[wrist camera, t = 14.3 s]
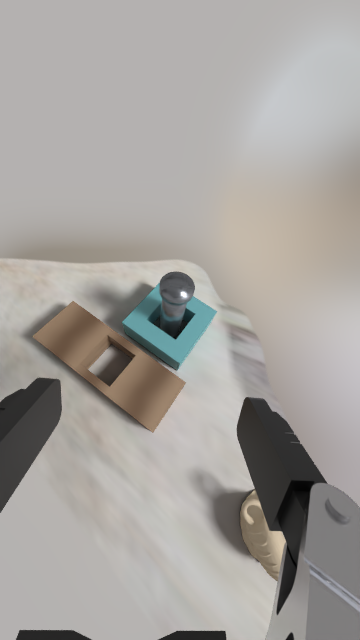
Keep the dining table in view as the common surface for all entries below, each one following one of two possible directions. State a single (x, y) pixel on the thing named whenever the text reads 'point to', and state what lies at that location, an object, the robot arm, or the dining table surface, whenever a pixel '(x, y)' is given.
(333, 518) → the robot arm
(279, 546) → the decorative ornament
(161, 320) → the axle
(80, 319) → the beam
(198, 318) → the holder
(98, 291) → the dining table surface
